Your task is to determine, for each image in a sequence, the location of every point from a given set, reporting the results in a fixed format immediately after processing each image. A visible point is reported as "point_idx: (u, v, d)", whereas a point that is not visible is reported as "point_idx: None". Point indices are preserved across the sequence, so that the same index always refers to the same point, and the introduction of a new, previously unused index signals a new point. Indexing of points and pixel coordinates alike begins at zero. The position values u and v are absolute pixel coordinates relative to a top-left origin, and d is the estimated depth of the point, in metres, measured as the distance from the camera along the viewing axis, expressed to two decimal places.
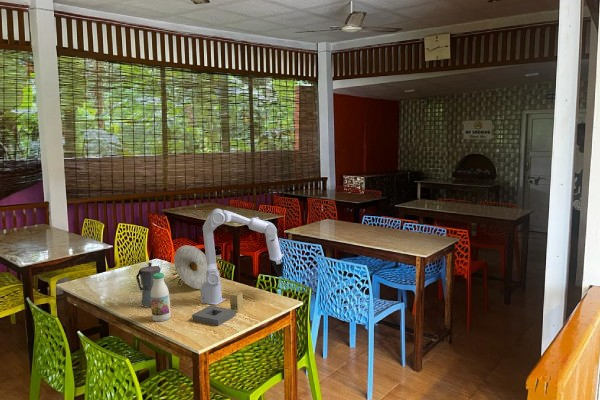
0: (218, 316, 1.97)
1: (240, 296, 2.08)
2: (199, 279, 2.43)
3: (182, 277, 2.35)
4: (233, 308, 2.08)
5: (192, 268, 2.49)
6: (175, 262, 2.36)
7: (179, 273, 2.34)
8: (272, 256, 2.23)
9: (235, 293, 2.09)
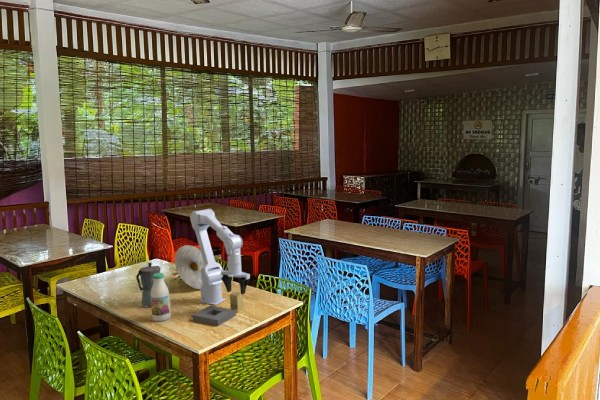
0: (218, 316, 1.97)
1: (240, 296, 2.08)
2: (200, 279, 2.43)
3: (183, 277, 2.34)
4: (233, 308, 2.08)
5: (193, 268, 2.49)
6: (176, 262, 2.36)
7: (180, 273, 2.34)
8: None
9: (235, 293, 2.09)
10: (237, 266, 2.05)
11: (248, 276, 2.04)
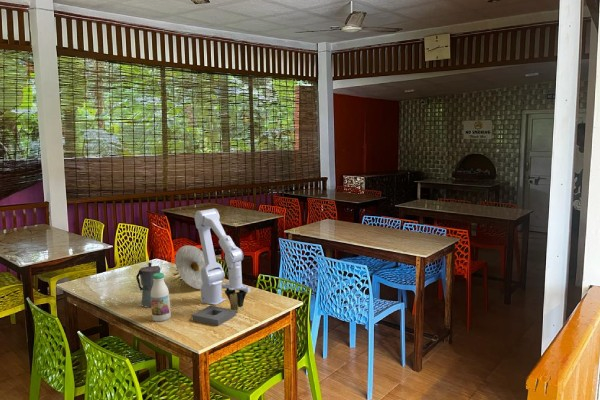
0: (218, 316, 1.97)
1: None
2: (201, 279, 2.42)
3: (183, 277, 2.34)
4: (233, 308, 2.08)
5: (193, 268, 2.49)
6: (176, 262, 2.36)
7: (180, 273, 2.34)
8: None
9: (235, 293, 2.09)
10: (238, 279, 2.05)
11: (249, 289, 2.05)
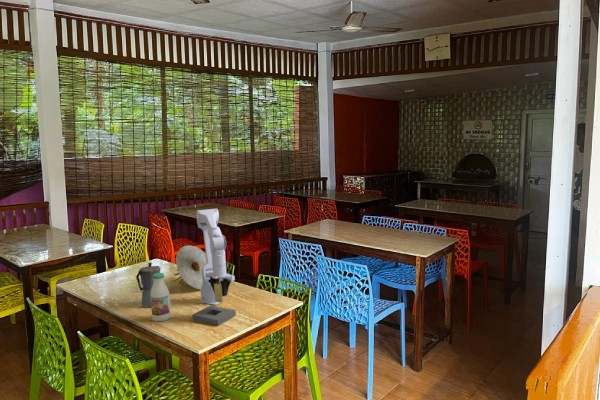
0: (218, 316, 1.97)
1: None
2: (201, 280, 2.42)
3: (184, 277, 2.34)
4: (217, 298, 2.02)
5: (194, 268, 2.49)
6: (177, 262, 2.35)
7: (181, 273, 2.34)
8: None
9: (219, 282, 2.03)
10: (222, 267, 1.99)
11: (233, 278, 1.99)
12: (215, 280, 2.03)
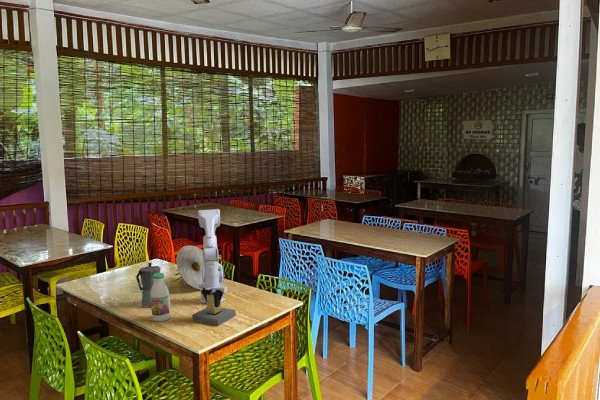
0: (218, 316, 1.97)
1: None
2: None
3: (184, 277, 2.34)
4: (210, 309, 2.00)
5: (194, 268, 2.49)
6: (177, 262, 2.35)
7: (181, 273, 2.34)
8: None
9: None
10: (214, 279, 1.97)
11: (225, 289, 1.97)
12: (208, 291, 2.01)
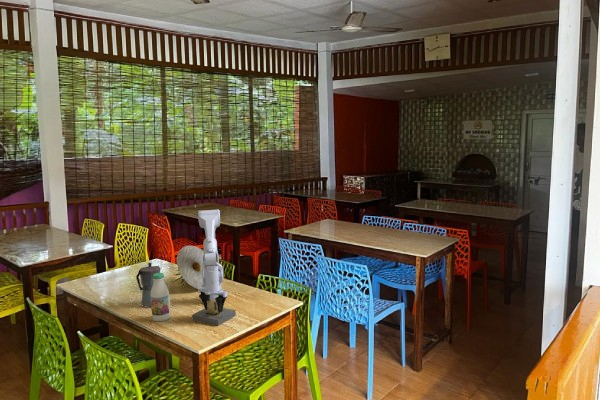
0: (218, 316, 1.97)
1: None
2: None
3: (185, 277, 2.34)
4: None
5: (195, 268, 2.48)
6: (178, 262, 2.35)
7: (182, 273, 2.34)
8: None
9: (212, 300, 2.02)
10: (214, 283, 1.98)
11: (226, 294, 1.97)
12: (206, 295, 2.02)
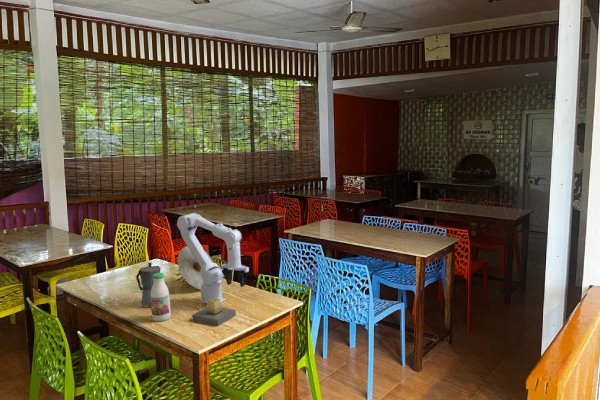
0: (218, 316, 1.97)
1: (217, 302, 2.01)
2: None
3: (186, 278, 2.33)
4: None
5: (196, 269, 2.48)
6: (179, 262, 2.35)
7: (183, 274, 2.33)
8: None
9: (212, 300, 2.02)
10: (236, 259, 2.12)
11: (247, 269, 2.11)
12: (228, 271, 2.16)
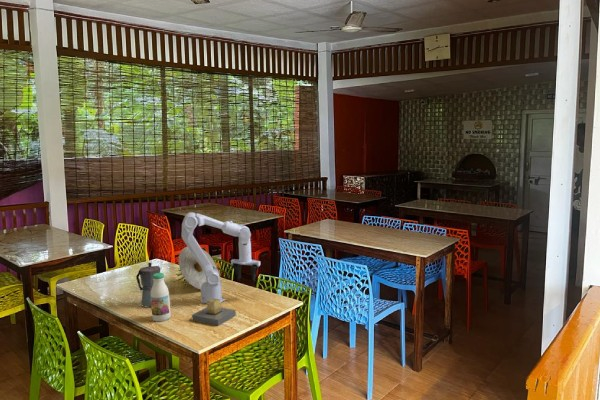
0: (218, 316, 1.97)
1: (217, 302, 2.01)
2: (204, 280, 2.41)
3: (187, 278, 2.33)
4: None
5: (197, 269, 2.48)
6: (180, 263, 2.35)
7: (184, 274, 2.33)
8: None
9: (212, 300, 2.02)
10: (248, 254, 2.20)
11: (259, 263, 2.20)
12: (238, 266, 2.24)
